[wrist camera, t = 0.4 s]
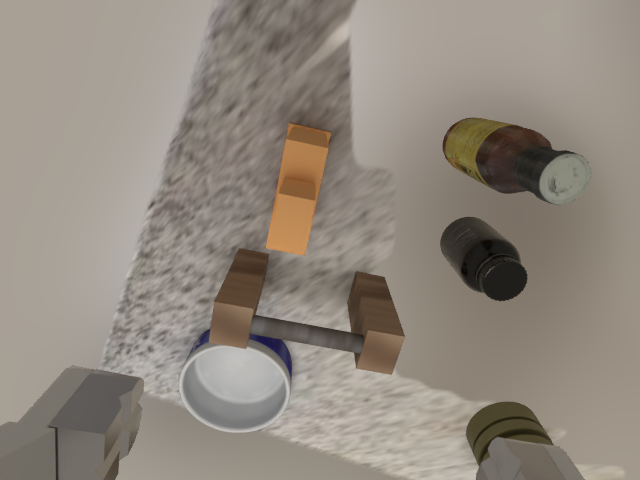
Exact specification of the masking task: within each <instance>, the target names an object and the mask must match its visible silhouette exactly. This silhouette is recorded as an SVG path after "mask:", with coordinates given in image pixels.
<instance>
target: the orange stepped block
mask: <svg viewBox="0 0 640 480" xmlns="http://www.w3.org/2000/svg"><path fill="white" fill-rule="evenodd" d="M330 135H331V132H328V131H324V130H319V129H315V128H310V127H306V126H301V125H297V124H292V123H289V126H288V132H287V137H286V142H285V147H284V153H283V158H282V163H281V169H280V174H279V180H278V185H277V191H276V196H275V201H274V207H273V212H272V218H271V223H270V229H269V234H268V239H267V245H266V248H269V249H274V250H279V251H284V252H289V253H294V254H299V255H304V256H305V253H306V248H307V244H308V239H309V235H310V230H311V226H312V221H313V217H314V212H315V208H316V203H317V199H318V194H319V190H320V185H321V181H322V176H323V172H324V168H325V163H326V159H327V154H328V150H329V147H328V144H329V139H330Z"/></svg>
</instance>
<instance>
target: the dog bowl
mask: <svg viewBox="0 0 640 480" xmlns="http://www.w3.org/2000/svg"><path fill="white" fill-rule="evenodd" d="M210 329H211V328H210ZM210 329H209V330H207V331H206V332H205V333H203V334H202V335H201V337H200V338H199V339H198V340H197V342H196V343H195V345H194V347H193V349H192V351H191V352H190V354H189V356H188V358H187V360H186V362H185V364H184V366H183V368H182V370H181V373H180V376H179V392H180V396H181V399H182V401H183V403H184V405H185V406H186V408H187V409H188V411H189V412H190V413H191V414H192V415H193V416H194V417H196V418H197V419H198V420H199V421H201V422H202V423H204V424H206V425H208V426H210V427H212V428H215V429H217V430H221V431H225V432H235V433H242V432H251V431H255V430H259V429H262V428H264V427H266V426H268V425H270V424H271V423H273V422H274V421H276V420H277V419H278V418H279V417H280V416H281V415H282V414H283V412H284V411H285V409H286V407H287V405H288V403H289V399H290V393H291V375H292V363H291V357H290V353H289V351H288V349H287V347H286V345H285V344H284V342H283V341H282V340H281V339H276V338H271V337H265V336H260V335H254V334H250V337H249V341H248V345H247V349H243V348H237V347H231V346H226V345H220V344H214V343H209V336H210Z"/></svg>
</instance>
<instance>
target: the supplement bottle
mask: <svg viewBox="0 0 640 480" xmlns="http://www.w3.org/2000/svg"><path fill="white" fill-rule="evenodd" d="M440 245H441V251H442V253H443V255H444V256H445V258H446V259H447V261H448V262H449V263H450V265H451V266H452V267H453V268H454V270H455V271H456V272H457V274H458V275H459V276H460V278H461V279H462V280H463V282H464V283H465V284H466V285H467V286H468V287H469V288H471V289H472V290H474V291H477V292H480V293H485V294H486V295H487V296H488V297H490V298H491V299H494V300H499V301H505V300H509V299H512V298H514V297H515V296H517V295H518V294H520V292H521V291H523V289H524V287H525V285H526V283H527V273H526V270H525V268H524V267H523V266H522V265H521V259H520V255H519V252H518V250H517V249H516V248H515V247H514V245H512V244H511V243H510V242H509V241H508V240H507V239H505V238H504V237H503V236H502V235H500V234H499V233H498V232H497V231H495V230H494V229H493V228H492V227H491V226H489V225H488V224H487V223H485V222H484V221H482V220H481V219H478V218H474V217H465V218H460V219H458V220H456V221H454V222H452V223H451V224H450V225H449V226H448V227H447V228H446V229H445V231H444V232H443V235H442V238H441V243H440Z"/></svg>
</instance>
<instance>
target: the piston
mask: <svg viewBox="0 0 640 480" xmlns="http://www.w3.org/2000/svg"><path fill="white" fill-rule="evenodd" d="M466 435H467V439H468V442H469V444H470V446H471V449H472V451H473V454H474V456H475V458H476V461H477V463H478V465H479V466H480V464H481V463H482V462H483V461H485V460H486V459H488V458H489V457H490V454H489V451H488V447H489V445H490V443H491V442H492V440H494V439H495V438H496V437H500V438H506V439H512V440H519V441H525V442H532V443H536V444H537V443H540V444H546V445H553V443H552V441H551V439H550V438H549V436H548V435H547V433H546V432H545V430H544V429H543V427H542V425H541V424H540V422H539V421H538V419H537V418H536V416H535V415H534V413H533V412H532V411H531V410H530V409H529V408H528V407H526V406H524V405H522V404H519V403H515V402H500V403H495V404H492V405H489V406H487V407H485V408H483V409H481V410H480V411H479V412H477V413H476V414H475V415H474V416H473V417H472V419H471V420H470V422H469V424H468V426H467V431H466ZM553 446H554V445H553Z"/></svg>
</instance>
